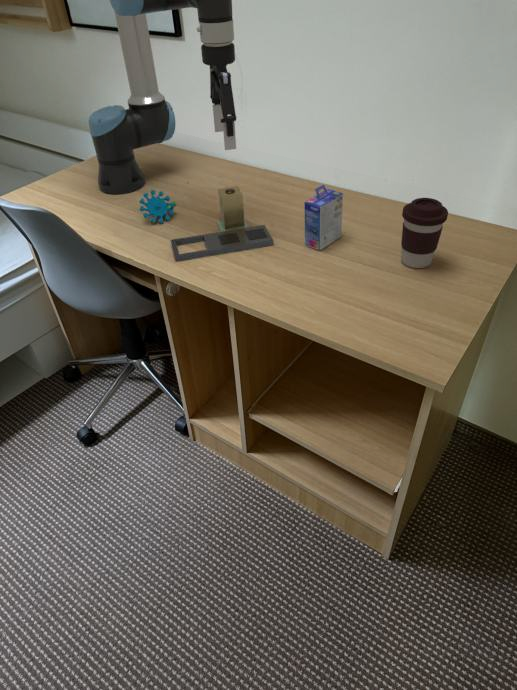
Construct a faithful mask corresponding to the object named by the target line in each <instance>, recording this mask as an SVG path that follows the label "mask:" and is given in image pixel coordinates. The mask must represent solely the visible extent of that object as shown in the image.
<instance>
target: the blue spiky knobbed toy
mask: <svg viewBox="0 0 517 690" xmlns="http://www.w3.org/2000/svg"><path fill="white" fill-rule="evenodd" d="M156 193H157V192H156V190H154V189H151V190H150V195H151V197H150V198H149V193H148V192H144V193H143V195H142V196H143V197H144V198H145V199H146V201H147V202H145V199H144V198H143V197H141V198H140V200H139V203H140V204H142V205H140V207H139V211H140V212H144V211H146V212H144V213H143V214H142V216H143V218H144V219H147V218H149V217H150V216H153V217H150V219H149V221H150V222H151V223H153V224H154V223H155V222H156V219H157V218H158V217H159V219H158V220H157V221H158V222H157V223H158V224H161V223H162V224H163V223H164V221H167V222H168V221H170V220H171V216H173V214H174V213H175V211H174V208H175V207H176V206H177V203H178V202H177V201H176V200H174V201H173V202H169V201H170V200H171V197H170V196H169V195H166V196H165V197H163V196H164V191H162V190H159V191H158V194H157V196H154V195H156ZM161 197H162V198H161ZM166 201H167V202H166ZM143 205H144V206H145V207H144V206H143ZM147 212H148V213H147ZM167 212H168V213H169V214H168V213H167ZM163 216H164V217H165V218H164V219H165V220H164V219H163Z"/></svg>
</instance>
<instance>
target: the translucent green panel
mask: <svg viewBox="0 0 517 690" xmlns="http://www.w3.org/2000/svg"><path fill="white" fill-rule="evenodd" d="M244 224H245V228H247V227H249V224H248V223H247V221H246V219H245V218H244ZM216 226H217V227H218V230H219V232H222V231H225V229H224V227H223V225H222V222H221V220H218V221H216Z"/></svg>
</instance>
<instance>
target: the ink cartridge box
mask: <svg viewBox="0 0 517 690" xmlns="http://www.w3.org/2000/svg"><path fill="white" fill-rule="evenodd" d="M314 190H315V193H316V195H314V196H312V197H311V198H308V200H305V201H304V244H305V247H309V248H311V249H314V250H316V251H321V250H323V249H325V248H326V247H327V246H329V245H331V244H332V243H333V242H336V241H337V240H338V239H339V238H341V237H342V227H343V225H342V224H343V205H344V204H343V203H344V201H343V200H344V193H343V192H340V191H336V190H333V189H330V188H326V186H325V184H322V185H319V187H316V188H315V189H314ZM321 190H322V191H321ZM320 191H321V192H320Z"/></svg>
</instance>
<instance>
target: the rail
mask: <svg viewBox="0 0 517 690" xmlns="http://www.w3.org/2000/svg"><path fill="white" fill-rule="evenodd" d="M200 242H204V245H205V249H202V250H197V251H192V252H191V251H190V252H185V253H179V248H178V246H181V245H187V244H194V243H200ZM170 244H171V248H172V253H173V257H174V261H175V262H180V261H187V260H192V259H199V258H205V257H210V256H218V255H222V254H228V253H235V252H241V251H247V250H252V249H258V248H263V247H270V246H274V239H273V237H272V236H271V234H270V232H269V231H268V229H267V227H266V225H265V224H260V225H254V226H248V227H247V228H241V229H235V230H229V231H222V232H220V231H218V232H210V233H205V234H200V235H199V234H198V235H192V236H187V237H181V238H174V239H170Z"/></svg>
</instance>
